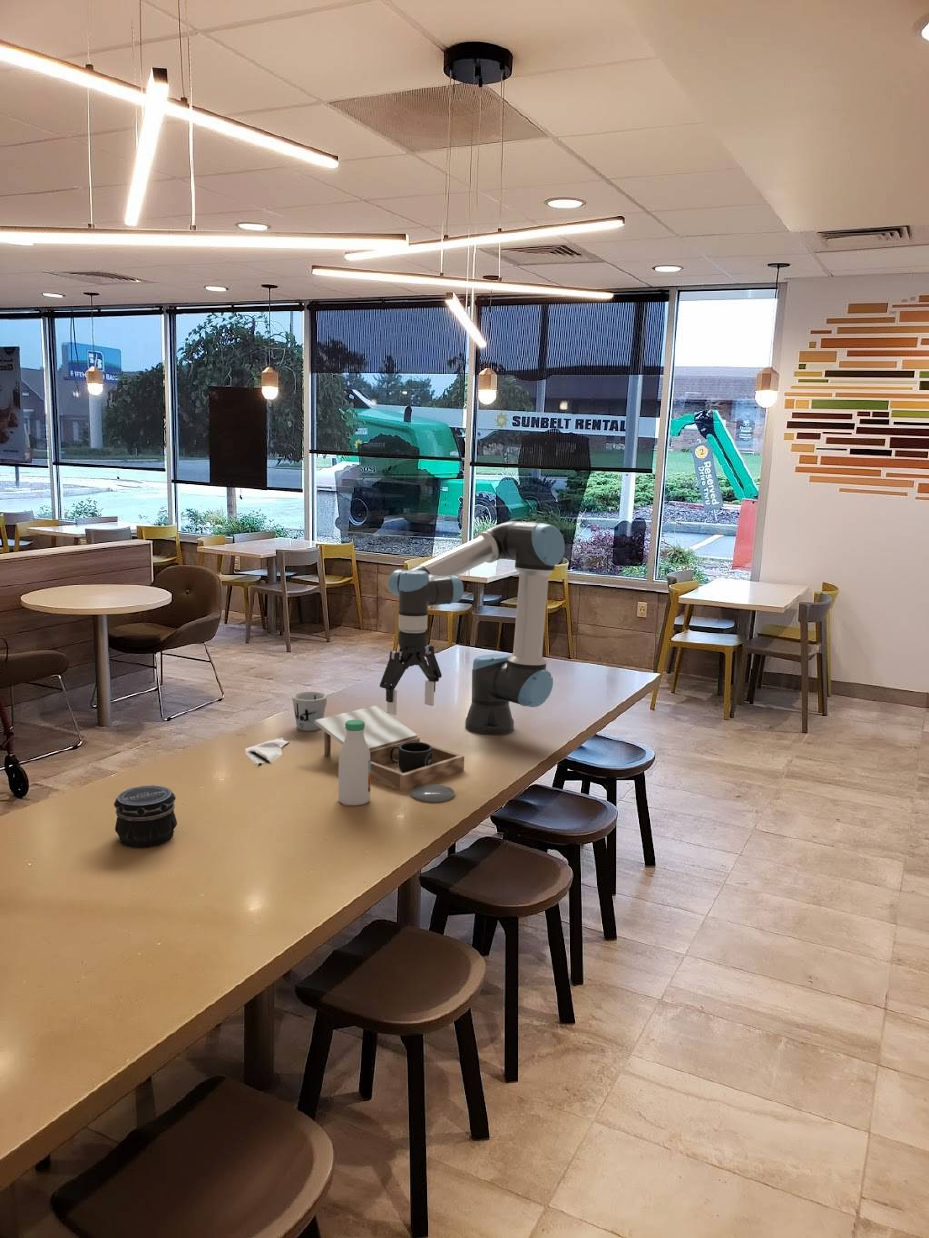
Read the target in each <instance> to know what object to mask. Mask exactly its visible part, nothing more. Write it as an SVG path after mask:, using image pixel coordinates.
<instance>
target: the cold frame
mask: <svg viewBox="0 0 929 1238" xmlns="http://www.w3.org/2000/svg"><path fill="white" fill-rule="evenodd" d="M348 720H362V721H364V723H365V727H364V732H363V733H364V738H365V741H366V743H367V745H368V747H369V751H370V762H371V776H370V779H371V780H375V781H376V782H377V781H378V782H380V783H383V784H385V785H388V786H390V787H392V788H395V789H398V790H400V791H402V792H403V791H406V790H409V789H410V790H411V789H413V788H414V787H417V786H420V785H426V784H428V783H430V782H433V781H436V780H440V779H443V778H446V777H448V776H451V775H455V774H457V773H460V772H463V771H464V770H465V756H464V755H462V754H459V753H456V752H453V751H451V750H447V749H443V748H441V747H437V746H434V745H432V744H430V745H431V746H432V748H433V753H432V764H431V765H428V766H425V767H422V768H419V769H416V770H412V771H409V772H406V773H403V772H401V771H400V770H396V769H393V768H392V767H391V768H390V767H388V766H387V765H390V764H394V763H395V762H393V761H392V760H391V759H390V752H391V749H392V748H393V747H394V746H400V745H401V744H404V743H408V742H421V740H420V737H418V734H417V733H415V732H414V731H413V730H411V729H410V728H409V727H407V726H406V725H404V724H402V722H400V721H399V720H397V719H396V718H395V717H393V716H391V714H389V713H387V712H385V710H383V709H382V708H380V707H378V706H377V705H372V706H368V707H363V708H359V709H356V710H351V711H347V712H344V713H339V714H333V715H329V716H324V718H321V719H317V720H315V721H314V723H315V724H316V725H317V726H318V727H320V728H321V729H320V730H323V732H324V747H323V748H324V751H323V752H324V756H326V757H330V756H331V755H332V754H331V753H332V752H331V749H332V747H331V744H332V741H331V739H332V738H333V739H334V740H336V741H337V742H338V743H339V744H340V745H342V744H343V742H344V740H345V737H346V731H345V729H346V728H345V723H346V721H348ZM392 757H393V759H394V760H397V761H399V749H398V748H395V749H394V750H393V753H392Z"/></svg>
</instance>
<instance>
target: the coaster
mask: <svg viewBox="0 0 929 1238" xmlns="http://www.w3.org/2000/svg"><path fill="white" fill-rule="evenodd" d="M455 795H456V794H455V790H454V789H453V788H451V787H449V786H447V785H443V784H434V783H429V784H428V783H425V784H422V785H419V786H416V787H413V788H411V789H410V796H411V798H412V799H414V800H416V801H419V802H423V803H442V802H447V801H450V800H452V799H453V798H454V797H455Z"/></svg>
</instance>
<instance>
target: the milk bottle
mask: <svg viewBox="0 0 929 1238" xmlns="http://www.w3.org/2000/svg"><path fill="white" fill-rule="evenodd" d="M364 727H365V723H364V721H362V720H348V721H346V723H345V728H346V729H345V731H346V737H345V740H344V742H343V744H341V747H340V750H339V755H338V788H337V789H338V801H339V802H340V804H342V805H346V806H352V807H353V806H355V807H356V806H363V805H366V804H368V803H369V802H370V800H371V778H370V776H371V762H370V751H369V747H368V745H367V743H366V741H365V738H364V733H363V732H364Z"/></svg>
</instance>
